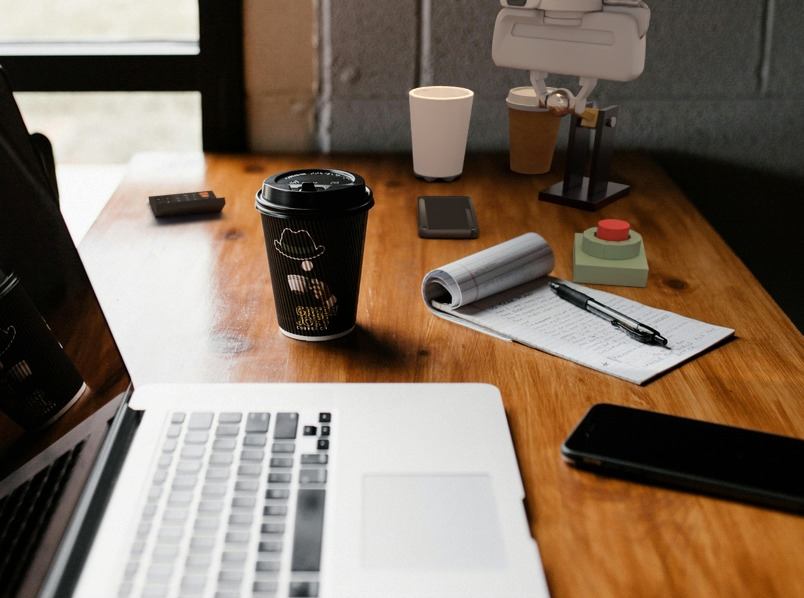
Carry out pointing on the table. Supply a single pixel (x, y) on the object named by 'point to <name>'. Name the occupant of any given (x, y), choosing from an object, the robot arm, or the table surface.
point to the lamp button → (613, 230)
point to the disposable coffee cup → (530, 132)
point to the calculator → (186, 203)
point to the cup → (439, 130)
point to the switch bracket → (596, 187)
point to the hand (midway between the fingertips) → (559, 110)
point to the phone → (446, 217)
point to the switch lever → (560, 105)
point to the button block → (609, 260)
